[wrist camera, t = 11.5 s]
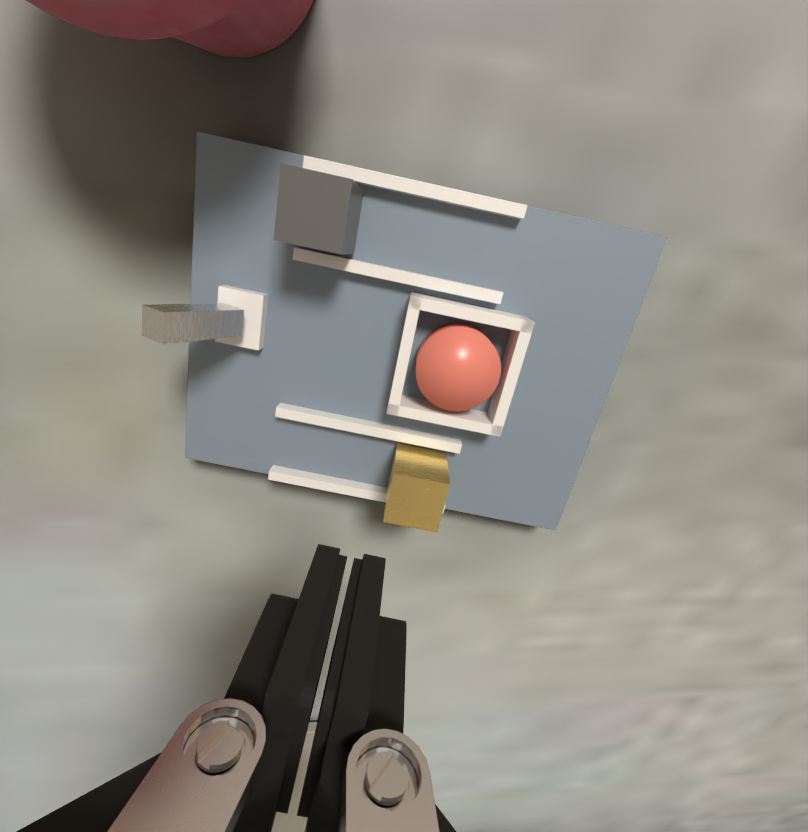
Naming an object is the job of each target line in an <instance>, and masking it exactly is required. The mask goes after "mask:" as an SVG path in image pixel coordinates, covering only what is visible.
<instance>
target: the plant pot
mask: <svg viewBox="0 0 808 832" xmlns="http://www.w3.org/2000/svg"><path fill="white" fill-rule="evenodd" d="M27 1H28V2H30V3H32V4H33V5H35V6H37V7H38V8H40V9H42V10H43V11H45V12H47V13H49V14H51V15H53V16H55V17H56V18H58V19H60V20H63V21H65V22H67V23H70V24H72V25H75V26H77V27H79V28H82V29H85V30H89V31H92V32H95V33H99V34H102V35H107V36H112V37H118V38H127V39H162V38H167V37H172V38H175V39H178V40H181V41H184V42H186V43H189V44H192V45H194V46H197V47H199V48H202V49H204V50H207V51H209V52H212V53H215V54H218V55H223V56H227V57H251V56H255V55H258V54H262V53H265V52H267V51H269V50H272V49H274V48H275V47H277V46H279V45H280V44H282V43H283V42H284V41H285V40H287V39H288V38H289V37H290V36H291V35H292V34H293V33H294V32H295V31H296V29H297V28H298V27H299V26H300V24H301V23H302V22H303V20H304V19H305V17H306V15H307V13H308V11H309V10H310V8H311V6H312V3H313V1H314V0H27Z"/></svg>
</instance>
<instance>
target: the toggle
mask: <svg viewBox="0 0 808 832" xmlns="http://www.w3.org/2000/svg"><path fill="white" fill-rule="evenodd" d="M243 318H244V310H243V309H240V308H237V307H234V306H231V305H228V304H225V303H218V304H158V305H142V336H144V337H147V338H149V339H152V340H154V341H157V342H159V343H162V344H170V343H180V342H189V341H199V340H209V339H219V338H229V337H239V336H242V331H243Z"/></svg>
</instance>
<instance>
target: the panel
mask: <svg viewBox="0 0 808 832" xmlns="http://www.w3.org/2000/svg"><path fill="white" fill-rule="evenodd" d="M281 163H283V164H287V165H291V166H296V167H300V168H305V169H309V170H314V171H318V172H323V173H327V174H332V175H336V176H341V177H345V178H350V179H353V180H354V181H355V182H356V183H357V184H358V185H359V186H360V187H361V188H362V189H363V190H364V193H363V200H362V206H361V213H360V219H359V226H358V232H357V238H356V245H355V251H354V254H342V255H341V254H337V253H332V252H327V251H323V250H318V249H314V248H309V247H304V246H300V245H295V244H290V243H286V242H281V241H277V240H274V230H275V219H276V209H277V198H278V188H279V177H280V167H281ZM666 239H667V237H666V236H662V235H658V234H653V233H649V232H644V231H640V230H635V229H631V228H626V227H622V226H617V225H613V224H608V223H604V222H600V221H595V220H591V219H586V218H582V217H577V216H573V215H568V214H564V213H559V212H555V211H550V210H546V209H541V208H537V207H533V206H528V205H524V204H519V203H515V202H510V201H506V200H501V199H497V198H492V197H488V196H483V195H479V194H475V193H470V192H466V191H461V190H457V189H452V188H448V187H443V186H439V185H434V184H430V183H425V182H421V181H416V180H412V179H408V178H403V177H399V176H394V175H390V174H385V173H381V172H376V171H372V170H367V169H363V168H358V167H354V166H349V165H345V164H341V163H336V162H332V161H327V160H323V159H318V158H314V157H309V156H305V155H300V154H296V153H291V152H287V151H283V150H278V149H274V148H269V147H265V146H260V145H256V144H251V143H247V142H242V141H238V140H233V139H229V138H224V137H220V136H216V135H211V134H207V133H202V132H198V131H197V145H196V172H195V199H194V226H193V253H192V280H191V304H218V303H225V304H228V305H231V306H234V307H237V308H240V309H243V310H244V318H243V331H242V336H239V337H229V338H219V339H209V340H199V341H189V360H188V387H187V414H186V441H185V458H189V459H194V460H199V461H204V462H209V463H214V464H219V465H224V466H230V467H235V468H240V469H245V470H250V471H255V472H260V473H265V474H269V476H268V480H273V481H278V482H284V483H289V484H294V485H299V486H304V487H309V488H314V489H319V490H324V491H330V492H335V493H340V494H345V495H350V496H355V497H360V498H365V499H370V500H376V501H381V502H386V496H387V489H388V483H389V478H390V474H391V469H392V465H393V460H394V455H395V451H396V446H397V443H402V444H407V445H412V446H417V447H422V448H427V449H432V450H437V451H442V452H446V456H447V463H448V471H449V479H450V487H449V491H448V495H447V498H446V502H445V506H444V509H449V510H454V511H459V512H464V513H469V514H474V515H480V516H485V517H490V518H495V519H500V520H505V521H510V522H515V523H520V524H525V525H531V526H536V527H541V528H546V529H551V530H556V528H557V526H558V523H559V520H560V518H561V515H562V512H563V510H564V507H565V505H566V502H567V499H568V497H569V494H570V491H571V489H572V486H573V484H574V481H575V478H576V476H577V473H578V470H579V468H580V465H581V463H582V460H583V457H584V455H585V452H586V449H587V447H588V444H589V441H590V439H591V436H592V434H593V431H594V428H595V426H596V423H597V420H598V418H599V415H600V413H601V410H602V407H603V405H604V402H605V399H606V397H607V394H608V392H609V389H610V386H611V384H612V381H613V378H614V376H615V373H616V371H617V368H618V365H619V363H620V360H621V357H622V355H623V352H624V349H625V347H626V344H627V342H628V339H629V336H630V334H631V331H632V328H633V326H634V323H635V321H636V318H637V315H638V313H639V310H640V307H641V305H642V302H643V300H644V297H645V294H646V292H647V289H648V286H649V284H650V281H651V279H652V276H653V273H654V271H655V268H656V265H657V263H658V260H659V257H660V255H661V252H662V250H663V247H664V244H665V242H666ZM448 323H465V324H469V325H472V326H474V327H476V328H477V329H479V330H480V331H482V332H483V333H484V334H485V335H486V336H487V338H488V339H489V340H490V341H491V343H492V344H493V345H494V347H495V348H496V350H497V352H498V355H499V358H500V362H501V375H500V380H499V383H498V385H497V387H496V389H495V391H494V392H493V394H492V395H491V396H490V397H489V398H488V399H487V400H486V401H485V402H484V403H482V404H481V405H479V406H477V407H475V408H472V409H470V410H465V411H448V410H445V409H442V408H439V407H437V406H435V405H434V404H432V403H431V402H430V401H429V400H428V399H427V398H426V397H425V396H424V395H423V394H422V392H421V390H420V388H419V386H418V383H417V379H416V357H417V352H418V349H419V347H420V344H421V343H422V341H423V340H424V338H425V337H426V336H427V335H428V334H429V333H430V332H431V331H433V330H434V329H436V328H437V327H439V326H442V325H444V324H448ZM443 513H444V510H443ZM443 513H442V514H443Z"/></svg>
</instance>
